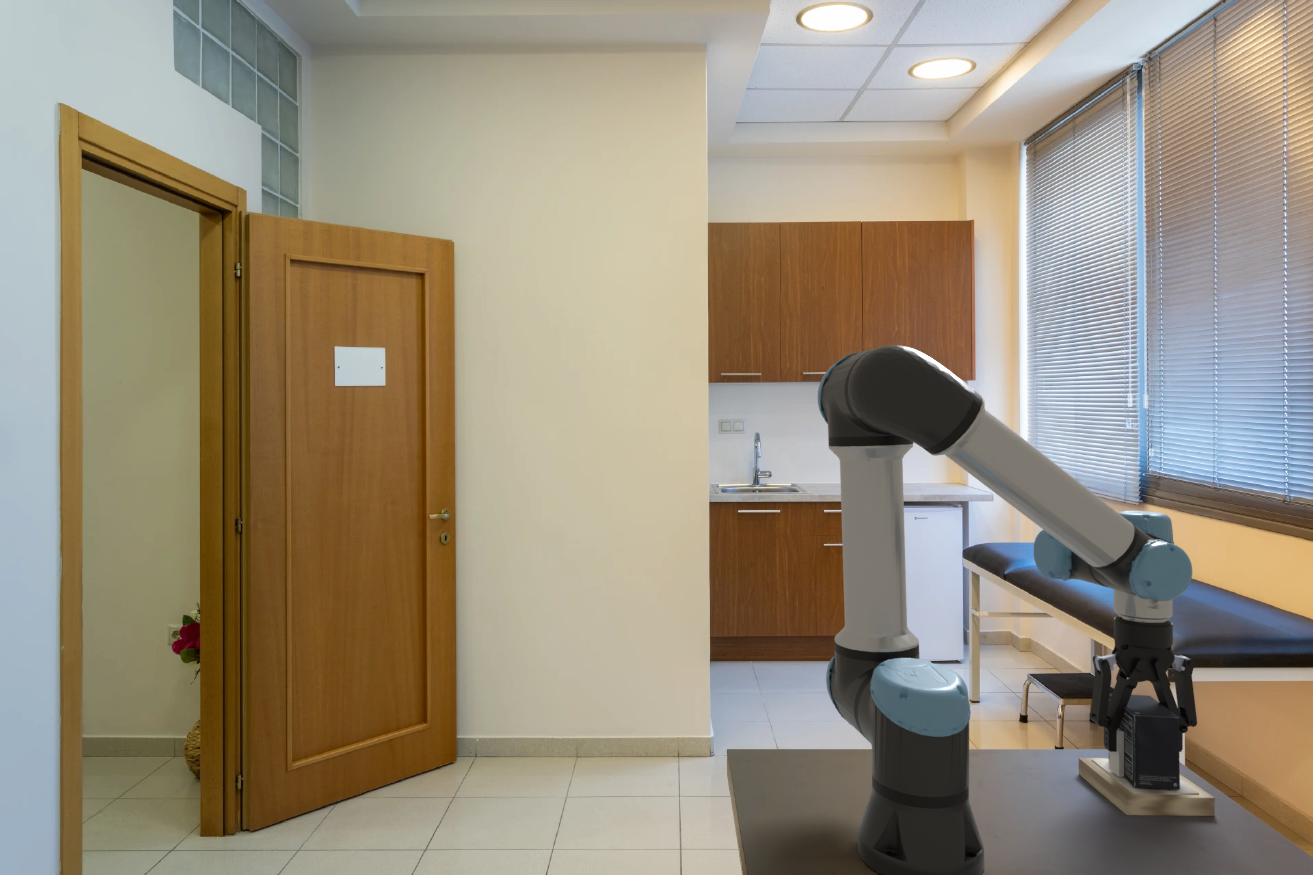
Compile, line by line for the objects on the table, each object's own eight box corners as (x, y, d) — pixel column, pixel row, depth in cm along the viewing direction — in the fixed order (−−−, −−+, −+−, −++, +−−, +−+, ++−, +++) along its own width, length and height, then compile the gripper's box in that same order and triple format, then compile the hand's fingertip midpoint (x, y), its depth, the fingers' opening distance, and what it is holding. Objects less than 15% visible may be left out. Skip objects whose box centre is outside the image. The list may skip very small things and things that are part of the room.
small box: (1184, 791, 118) (1182, 716, 117) (1133, 789, 119) (1132, 715, 119) (1153, 761, 128) (1151, 693, 128) (1107, 760, 129) (1105, 692, 129)
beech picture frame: (1126, 814, 117) (1126, 795, 117) (1078, 773, 131) (1078, 756, 131) (1214, 815, 116) (1214, 796, 116) (1156, 774, 130) (1156, 756, 130)
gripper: (1086, 622, 120) (1087, 783, 120) (1228, 622, 119) (1228, 783, 119) (1062, 611, 127) (1062, 762, 127) (1195, 611, 127) (1195, 762, 127)
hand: (1142, 772), depth 123 cm, fingers open, 7 cm apart
